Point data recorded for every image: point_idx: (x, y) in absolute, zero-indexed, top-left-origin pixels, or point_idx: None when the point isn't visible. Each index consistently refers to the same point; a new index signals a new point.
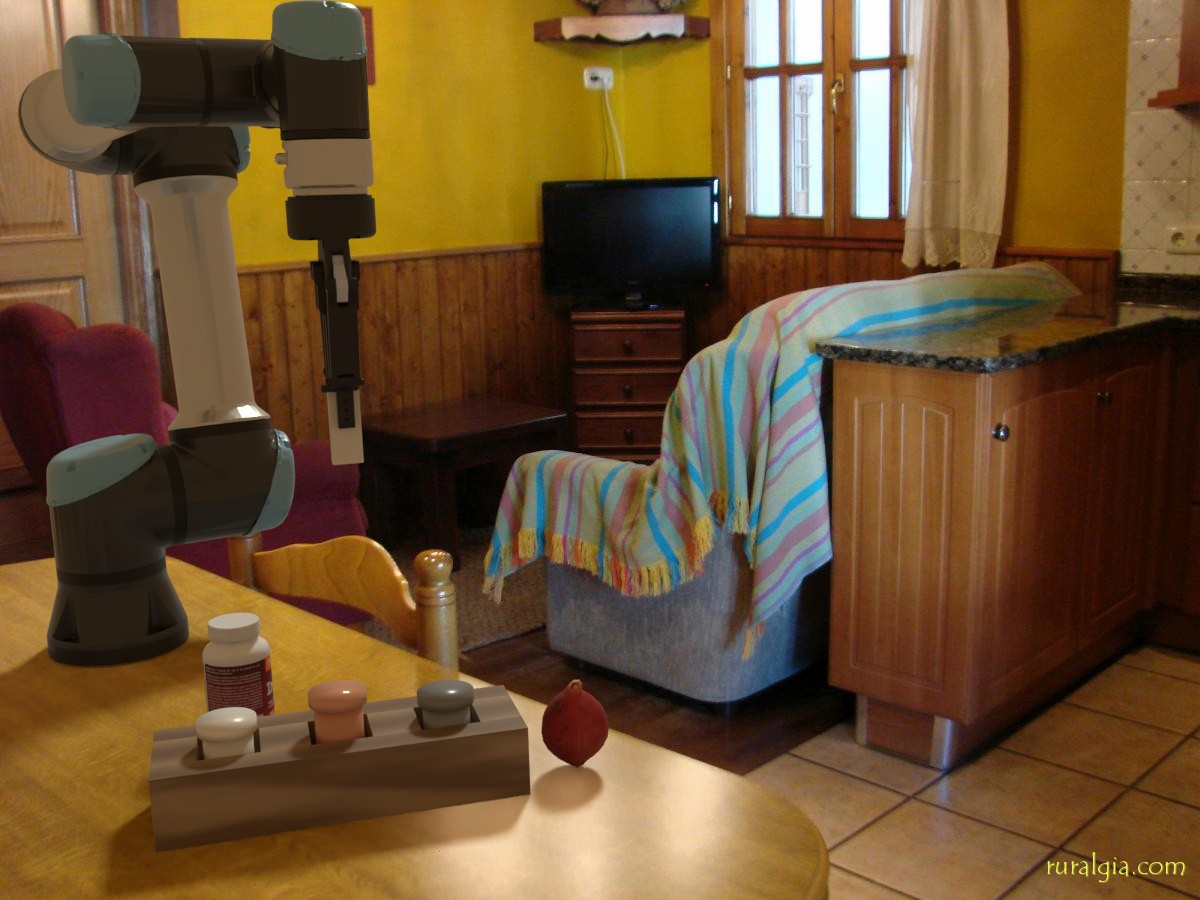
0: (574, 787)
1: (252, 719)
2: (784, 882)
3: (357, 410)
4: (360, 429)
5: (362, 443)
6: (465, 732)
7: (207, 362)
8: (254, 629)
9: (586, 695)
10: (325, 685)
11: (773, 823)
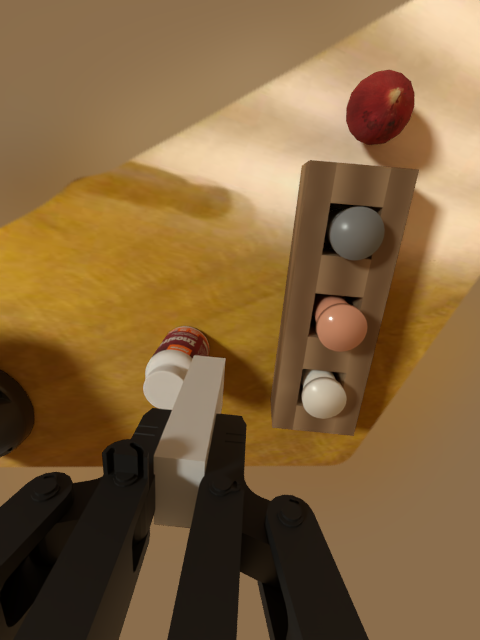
0: (401, 133)
1: (336, 385)
2: None
3: (212, 428)
4: (218, 396)
5: (221, 377)
6: (397, 226)
7: None
8: (181, 374)
9: (402, 87)
10: (325, 335)
11: None
